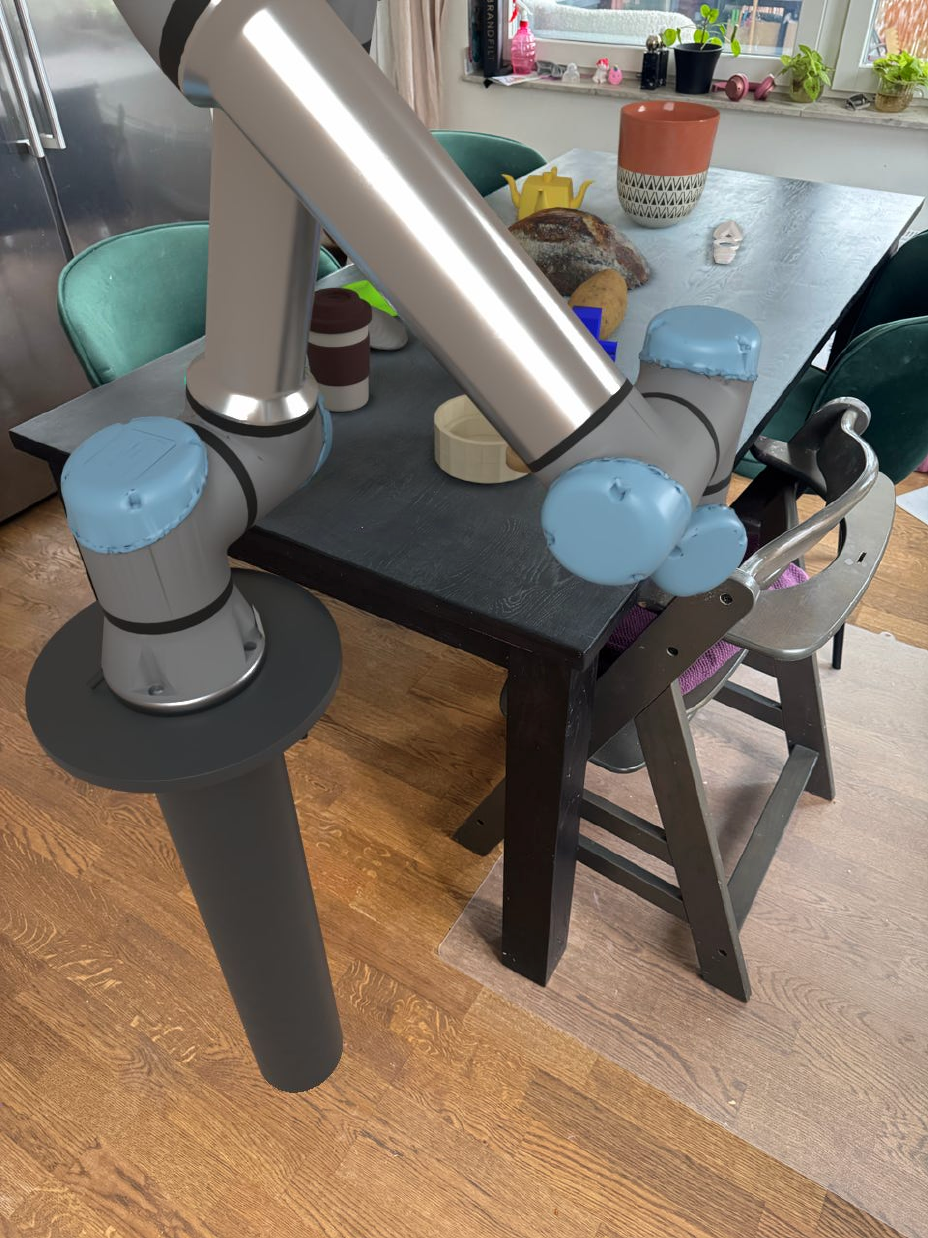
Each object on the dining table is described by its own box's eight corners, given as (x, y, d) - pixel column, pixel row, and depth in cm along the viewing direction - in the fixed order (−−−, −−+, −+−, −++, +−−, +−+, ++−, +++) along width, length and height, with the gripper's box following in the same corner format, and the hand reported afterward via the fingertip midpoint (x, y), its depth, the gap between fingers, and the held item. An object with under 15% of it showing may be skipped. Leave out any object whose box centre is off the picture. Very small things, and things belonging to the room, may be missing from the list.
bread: (507, 237, 177) (508, 184, 171) (663, 257, 168) (671, 202, 162) (458, 281, 158) (458, 224, 152) (632, 306, 149) (640, 246, 143)
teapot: (592, 224, 184) (596, 175, 177) (539, 235, 178) (541, 185, 172) (551, 207, 193) (554, 160, 187) (499, 218, 187) (500, 169, 181)
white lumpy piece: (706, 262, 166) (706, 258, 165) (717, 220, 186) (717, 216, 185) (737, 265, 164) (738, 261, 164) (745, 222, 185) (746, 218, 184)
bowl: (479, 499, 103) (480, 455, 100) (414, 454, 111) (412, 412, 107) (560, 463, 110) (564, 421, 106) (493, 423, 118) (494, 382, 114)
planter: (602, 234, 179) (614, 117, 165) (615, 207, 193) (627, 98, 179) (697, 242, 175) (718, 123, 161) (703, 214, 189) (722, 103, 175)
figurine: (614, 398, 123) (625, 315, 116) (572, 410, 121) (580, 327, 113) (583, 377, 128) (591, 297, 120) (541, 389, 125) (547, 308, 117)
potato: (549, 349, 136) (553, 290, 130) (586, 315, 146) (592, 259, 140) (600, 360, 133) (607, 300, 127) (635, 325, 143) (642, 268, 137)
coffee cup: (350, 424, 117) (340, 316, 108) (294, 407, 121) (279, 301, 111) (391, 395, 124) (385, 291, 114) (336, 379, 128) (325, 277, 118)
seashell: (327, 343, 137) (363, 354, 131) (325, 306, 135) (362, 316, 128) (385, 336, 144) (422, 346, 138) (385, 300, 142) (423, 309, 135)
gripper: (519, 513, 73) (436, 392, 89) (689, 480, 77) (579, 370, 93) (523, 434, 68) (435, 321, 84) (705, 403, 72) (586, 302, 88)
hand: (511, 347), depth 89 cm, fingers closed on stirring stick, 3 cm apart
